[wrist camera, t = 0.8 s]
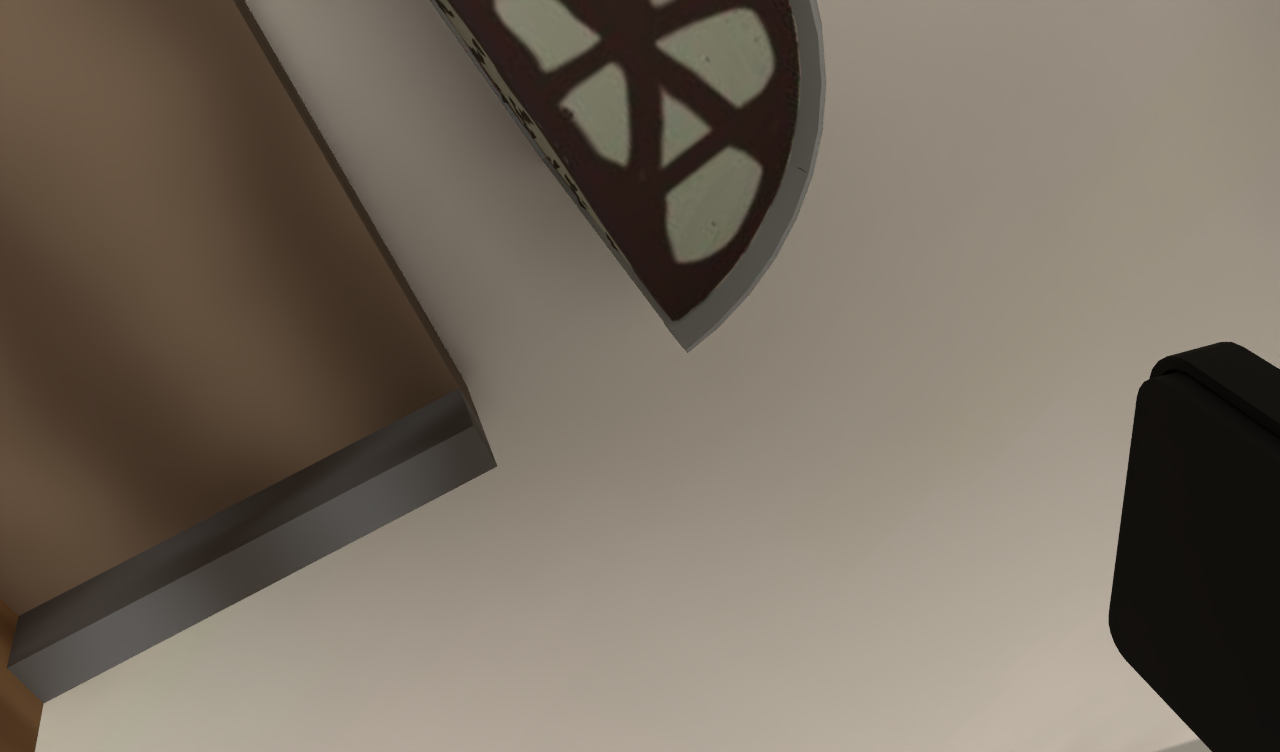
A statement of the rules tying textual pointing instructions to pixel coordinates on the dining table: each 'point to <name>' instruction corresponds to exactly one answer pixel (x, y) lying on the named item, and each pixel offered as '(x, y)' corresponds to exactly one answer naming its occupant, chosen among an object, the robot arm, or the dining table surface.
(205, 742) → the dining table surface
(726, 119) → the food container
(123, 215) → the tray
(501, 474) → the dining table surface
